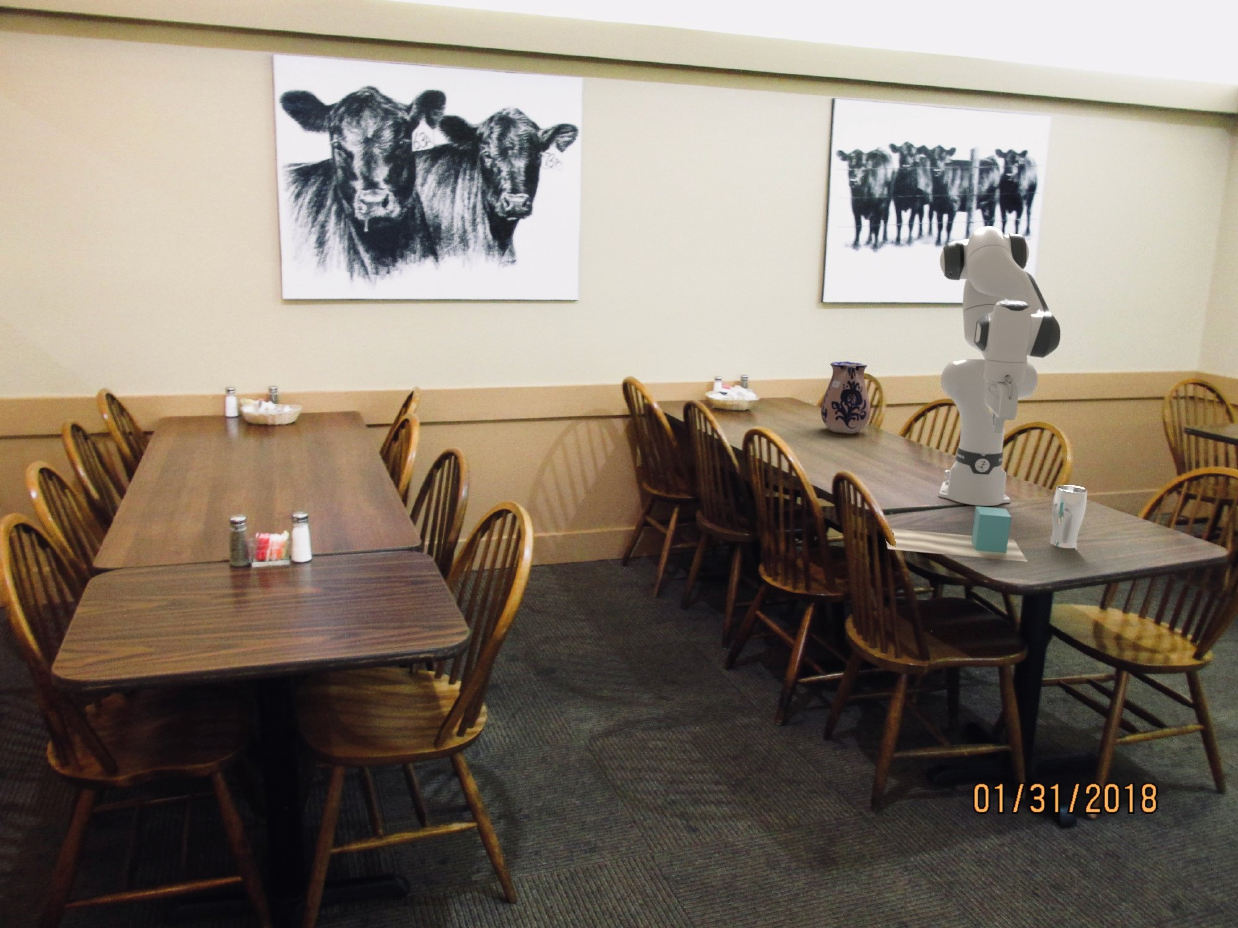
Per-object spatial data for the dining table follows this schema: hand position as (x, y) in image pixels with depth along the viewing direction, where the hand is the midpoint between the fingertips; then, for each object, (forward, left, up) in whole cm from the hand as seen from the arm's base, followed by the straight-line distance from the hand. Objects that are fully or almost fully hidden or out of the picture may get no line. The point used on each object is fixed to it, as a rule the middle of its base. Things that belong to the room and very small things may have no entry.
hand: (996, 432), depth 221 cm
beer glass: (0, +18, -27) cm, 33 cm away
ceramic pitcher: (-124, -30, -27) cm, 131 cm away
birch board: (+8, -8, -27) cm, 29 cm away
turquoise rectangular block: (+8, 0, -26) cm, 27 cm away
